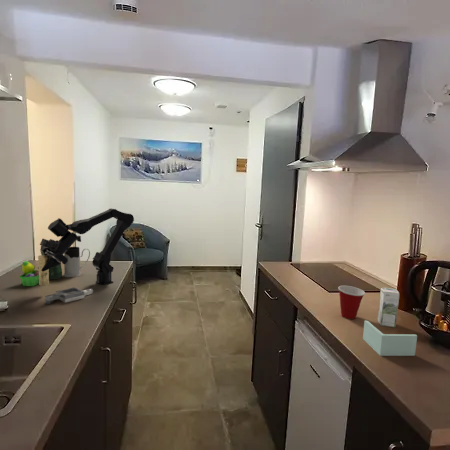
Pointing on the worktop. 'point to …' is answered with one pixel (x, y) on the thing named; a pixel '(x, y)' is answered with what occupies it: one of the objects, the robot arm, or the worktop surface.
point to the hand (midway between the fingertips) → (40, 269)
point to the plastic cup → (350, 301)
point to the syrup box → (388, 307)
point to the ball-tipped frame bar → (68, 295)
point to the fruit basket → (29, 274)
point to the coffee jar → (54, 270)
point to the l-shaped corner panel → (389, 342)
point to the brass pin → (42, 275)
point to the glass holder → (73, 262)
